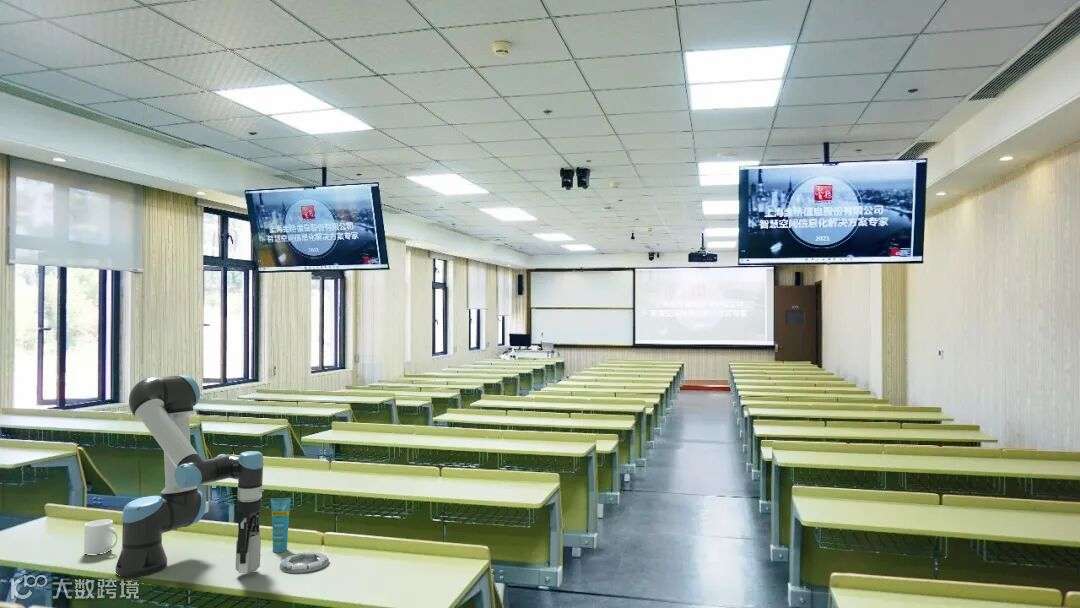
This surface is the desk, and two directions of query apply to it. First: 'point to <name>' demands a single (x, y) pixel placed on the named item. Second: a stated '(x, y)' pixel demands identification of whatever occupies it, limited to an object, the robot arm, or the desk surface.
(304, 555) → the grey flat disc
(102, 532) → the mug
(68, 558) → the desk surface
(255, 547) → the can
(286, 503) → the tube
